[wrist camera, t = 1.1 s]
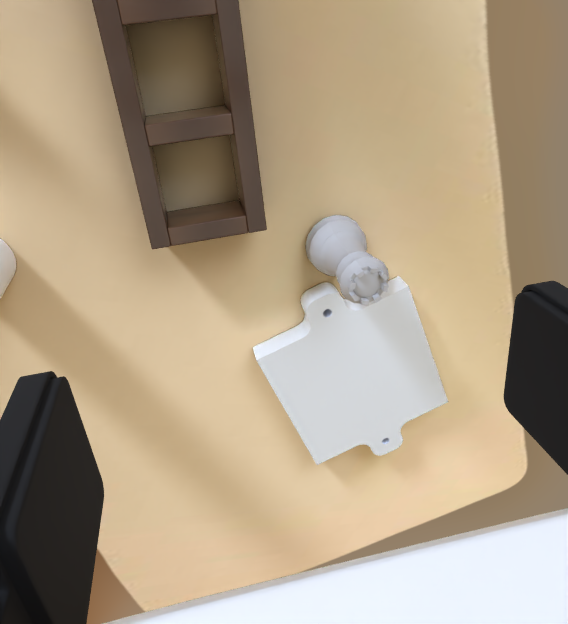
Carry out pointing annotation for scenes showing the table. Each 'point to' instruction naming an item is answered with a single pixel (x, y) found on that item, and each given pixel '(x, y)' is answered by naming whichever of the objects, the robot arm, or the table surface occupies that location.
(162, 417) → the table surface
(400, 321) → the mounting plate
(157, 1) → the piece stand
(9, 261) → the tube
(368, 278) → the rook chess piece
